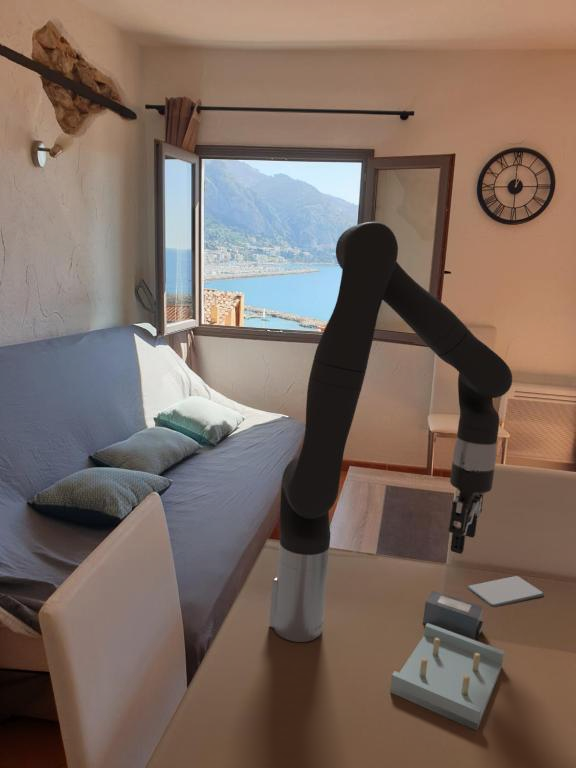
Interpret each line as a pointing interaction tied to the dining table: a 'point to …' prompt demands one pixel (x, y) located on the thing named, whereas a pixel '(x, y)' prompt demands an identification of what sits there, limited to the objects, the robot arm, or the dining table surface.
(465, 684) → the tray
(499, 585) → the smartphone
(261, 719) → the dining table surface
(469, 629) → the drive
